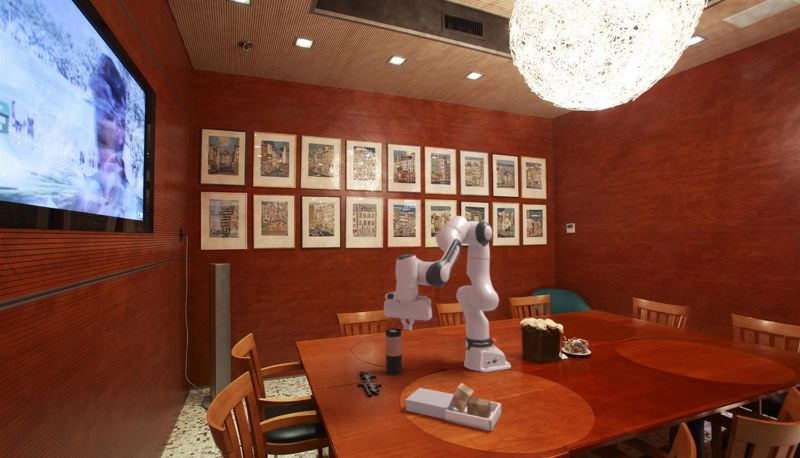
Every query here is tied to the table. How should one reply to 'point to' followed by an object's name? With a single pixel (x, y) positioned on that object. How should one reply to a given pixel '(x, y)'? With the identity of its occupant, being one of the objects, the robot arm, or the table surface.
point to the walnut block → (479, 407)
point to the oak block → (461, 397)
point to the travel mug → (393, 351)
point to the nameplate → (369, 383)
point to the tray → (475, 417)
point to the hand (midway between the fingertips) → (407, 329)
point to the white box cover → (429, 402)
